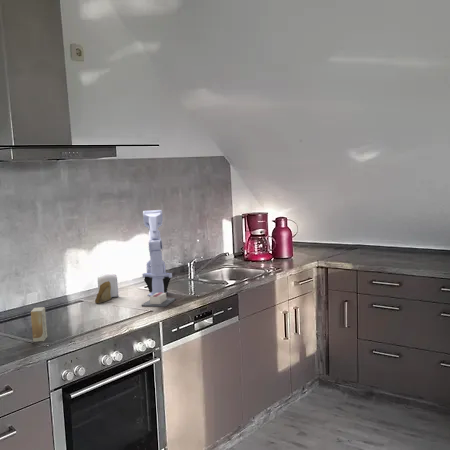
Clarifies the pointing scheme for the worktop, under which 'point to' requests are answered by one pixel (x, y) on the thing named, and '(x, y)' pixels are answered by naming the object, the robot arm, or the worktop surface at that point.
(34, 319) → the skincare box
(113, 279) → the photo printer
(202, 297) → the worktop surface
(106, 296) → the rock
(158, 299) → the card deck
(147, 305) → the mat
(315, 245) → the worktop surface
